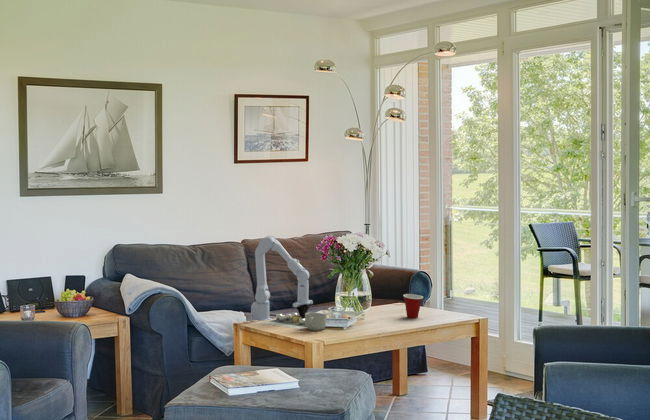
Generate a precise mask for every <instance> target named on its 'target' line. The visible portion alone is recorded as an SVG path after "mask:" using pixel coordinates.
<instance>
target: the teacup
mask: <svg viewBox="0 0 650 420" xmlns="http://www.w3.org/2000/svg"><path fill="white" fill-rule="evenodd" d="M327 317H328V314H325V313H322V312H307V313H305V326H306V327H305V328H307V330H309V331H316V332H317V331H322V330H323V329H325V328H326V324H327Z"/></svg>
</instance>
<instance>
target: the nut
mask: <svg viewBox="0 0 650 420" xmlns="http://www.w3.org/2000/svg"><path fill="white" fill-rule="evenodd" d="M299 318H301V316H300V315H298V314H297V315H295V316H292V322H293V323H299Z"/></svg>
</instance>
